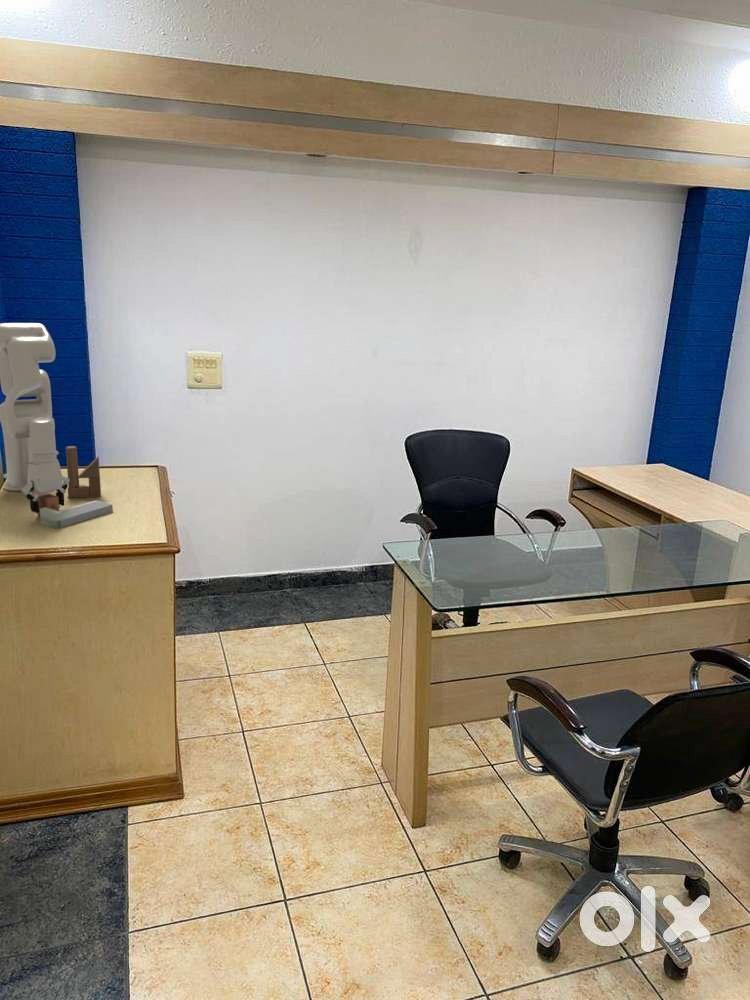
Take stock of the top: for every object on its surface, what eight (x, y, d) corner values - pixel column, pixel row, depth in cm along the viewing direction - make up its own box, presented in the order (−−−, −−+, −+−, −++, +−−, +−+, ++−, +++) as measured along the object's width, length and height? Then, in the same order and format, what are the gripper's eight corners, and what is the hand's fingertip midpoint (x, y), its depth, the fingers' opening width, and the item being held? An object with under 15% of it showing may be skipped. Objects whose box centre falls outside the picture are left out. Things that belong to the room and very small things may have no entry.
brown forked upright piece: (100, 497, 281) (97, 447, 275) (68, 498, 278) (64, 448, 273) (101, 494, 284) (98, 445, 279) (69, 495, 281) (65, 445, 276)
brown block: (37, 516, 258) (35, 495, 256) (47, 513, 262) (46, 493, 260) (54, 521, 254) (52, 500, 252) (64, 518, 258) (63, 497, 255)
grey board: (40, 523, 252) (39, 508, 250) (96, 507, 270) (95, 493, 268) (57, 528, 248) (56, 513, 246) (112, 511, 266) (112, 497, 265)
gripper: (58, 450, 262) (62, 500, 267) (12, 460, 247) (17, 512, 252) (74, 454, 258) (77, 504, 263) (27, 464, 244) (32, 517, 249)
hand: (48, 508), depth 258 cm, fingers open, 9 cm apart
